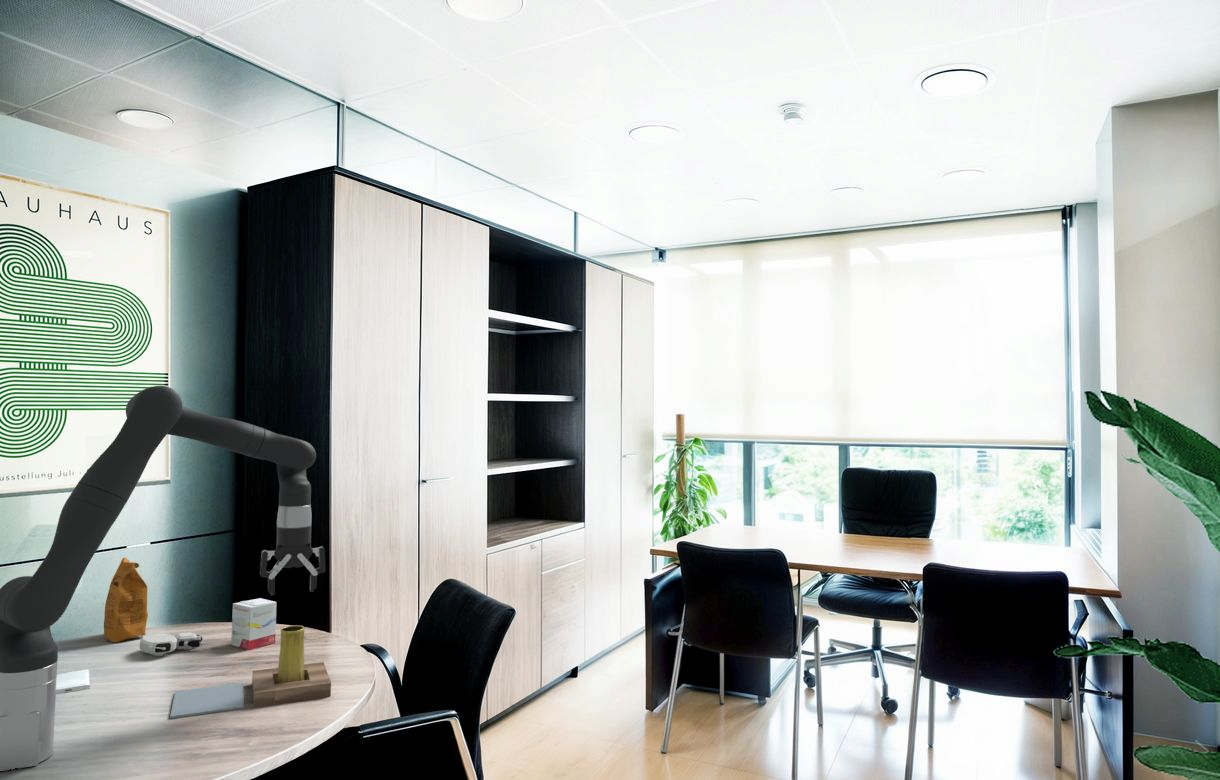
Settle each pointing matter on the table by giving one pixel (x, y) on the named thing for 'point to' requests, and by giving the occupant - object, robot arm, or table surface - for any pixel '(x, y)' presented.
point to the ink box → (253, 623)
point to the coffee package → (126, 604)
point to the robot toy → (169, 642)
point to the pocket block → (290, 685)
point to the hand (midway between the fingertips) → (292, 592)
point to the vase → (291, 654)
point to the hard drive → (72, 681)
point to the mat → (207, 700)
